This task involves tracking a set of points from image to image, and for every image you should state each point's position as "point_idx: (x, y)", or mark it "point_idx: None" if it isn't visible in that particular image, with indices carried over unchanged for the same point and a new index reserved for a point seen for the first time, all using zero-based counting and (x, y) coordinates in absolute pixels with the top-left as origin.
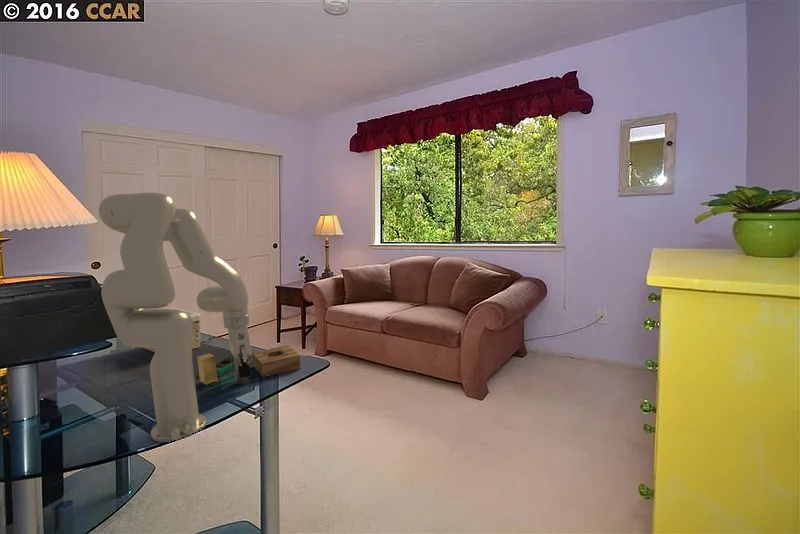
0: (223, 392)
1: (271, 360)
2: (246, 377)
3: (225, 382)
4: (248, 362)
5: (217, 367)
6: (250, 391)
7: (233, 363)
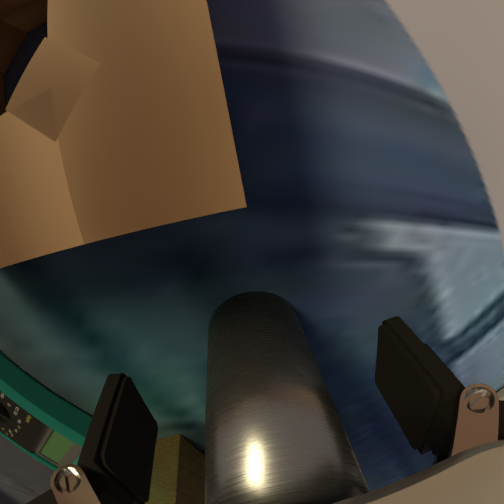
0: (346, 401)
1: (183, 56)
2: (297, 326)
3: (205, 409)
4: (496, 398)
5: (44, 439)
6: (427, 277)
7: (151, 461)
